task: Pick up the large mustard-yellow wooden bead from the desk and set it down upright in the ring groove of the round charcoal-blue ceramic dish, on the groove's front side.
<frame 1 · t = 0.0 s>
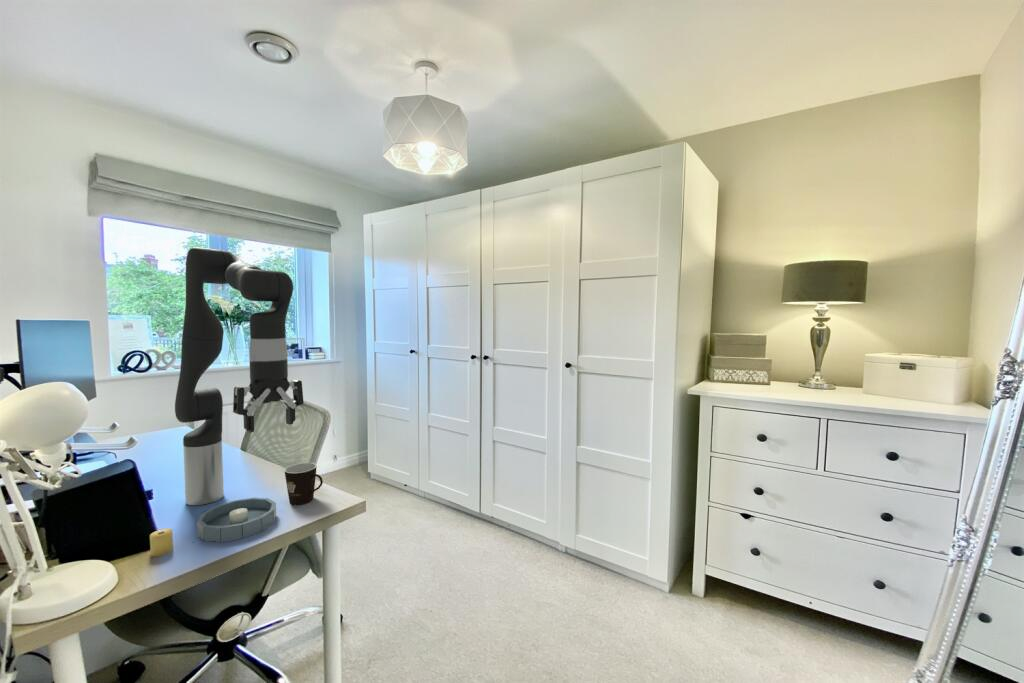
hand: (270, 427, 97), 29 cm above the table, tool pointing down, fingers open, 8 cm apart
coffee mug: (303, 502, 124), on the table
bead: (161, 551, 98), on the table
groove dish: (238, 524, 110), on the table
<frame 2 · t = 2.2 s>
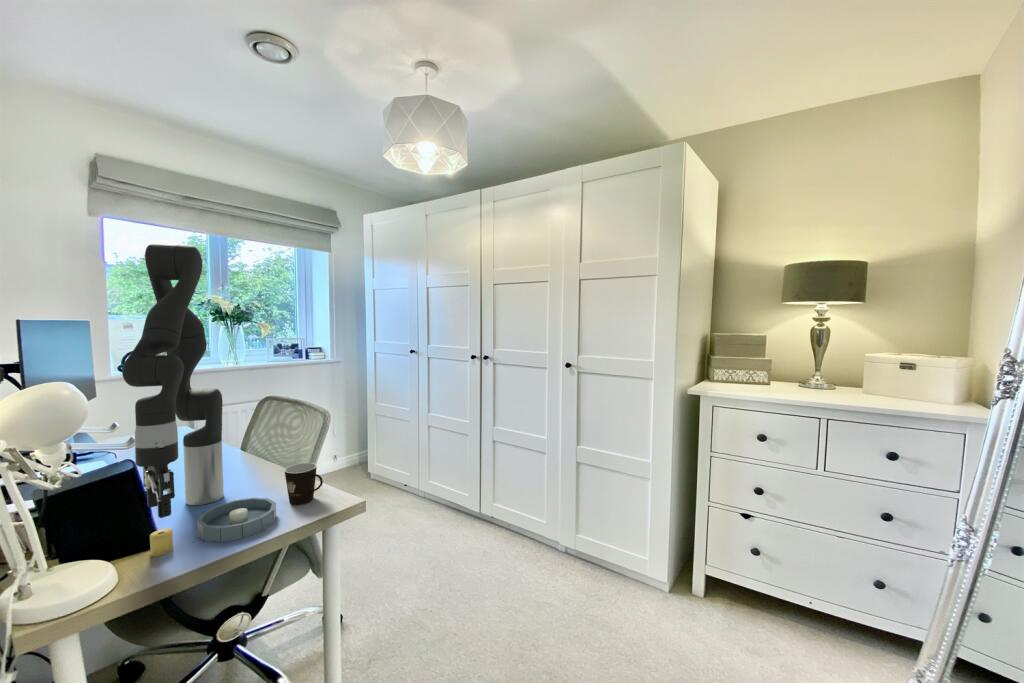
hand: (159, 511, 97), 10 cm above the table, tool pointing down, fingers open, 8 cm apart
nothing on the table moved.
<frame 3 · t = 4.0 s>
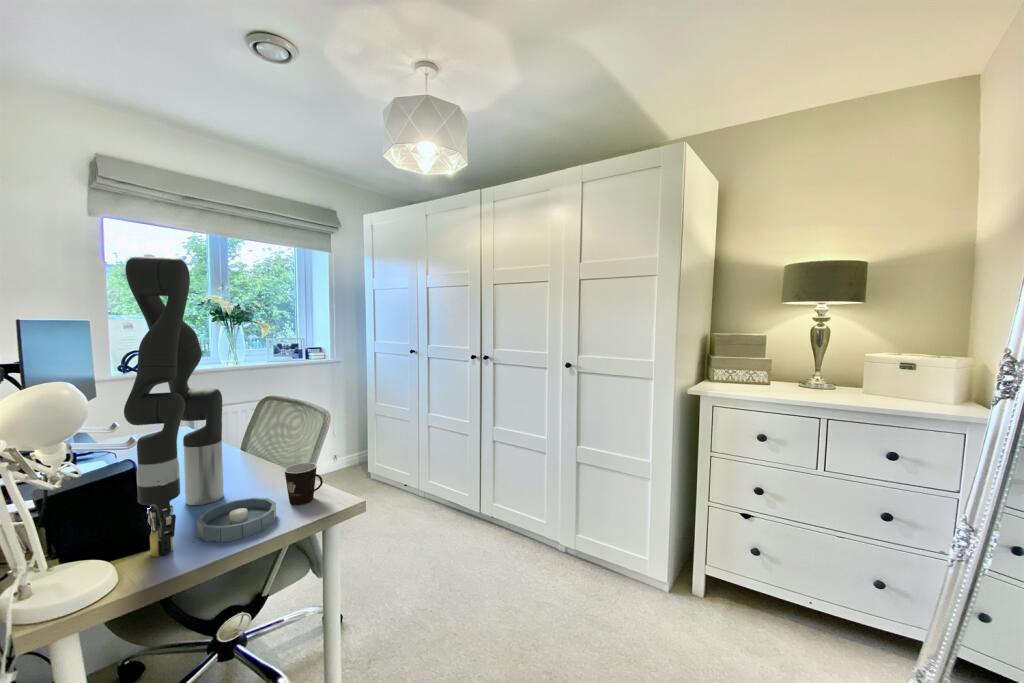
hand: (161, 550, 98), 0 cm above the table, tool pointing down, fingers closed on bead, 4 cm apart
bead: (161, 551, 98), on the table, touching gripper
everything else where it was.
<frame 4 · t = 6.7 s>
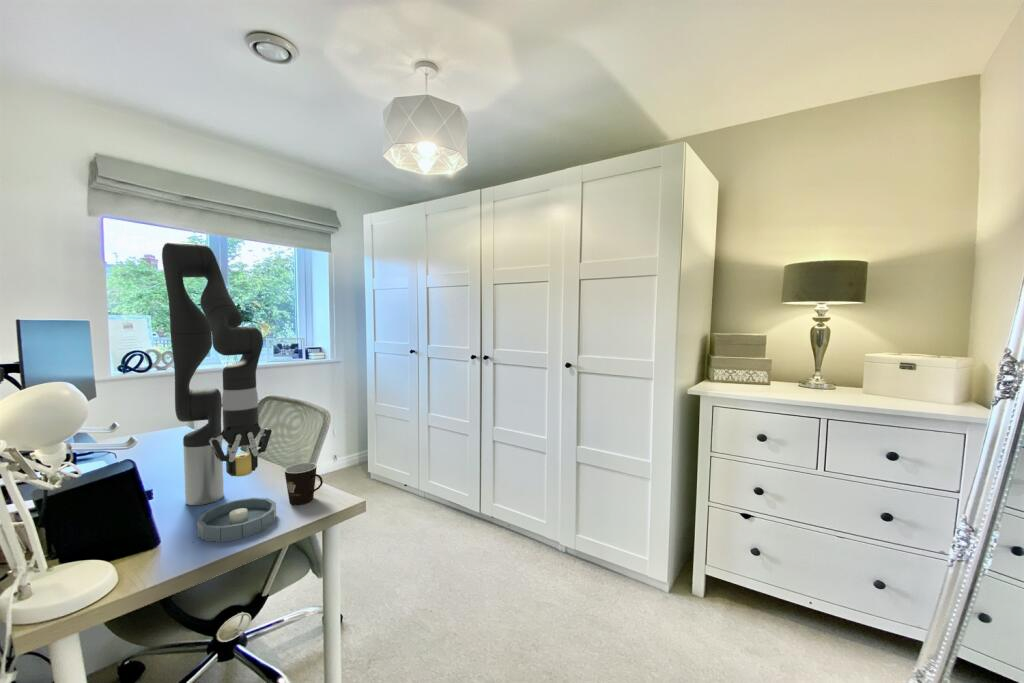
hand: (242, 472, 106), 15 cm above the table, tool pointing down, fingers closed on bead, 4 cm apart
bead: (242, 473, 106), point 15 cm above the table, touching gripper
everything else where it was.
when the fingers open (3 cm above the table, at t = 9.2 s): bead drops 1 cm, resting on groove dish.
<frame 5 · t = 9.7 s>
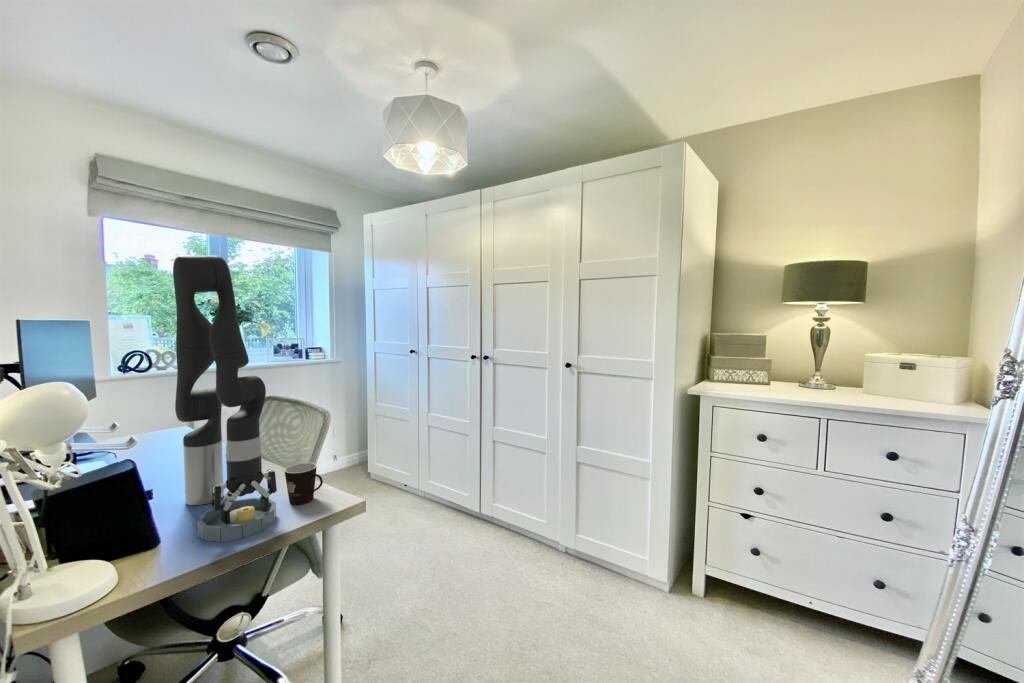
hand: (246, 516, 107), 3 cm above the table, tool pointing down, fingers open, 8 cm apart
bead: (246, 526, 107), point 1 cm above the table, touching groove dish
everything else where it was.
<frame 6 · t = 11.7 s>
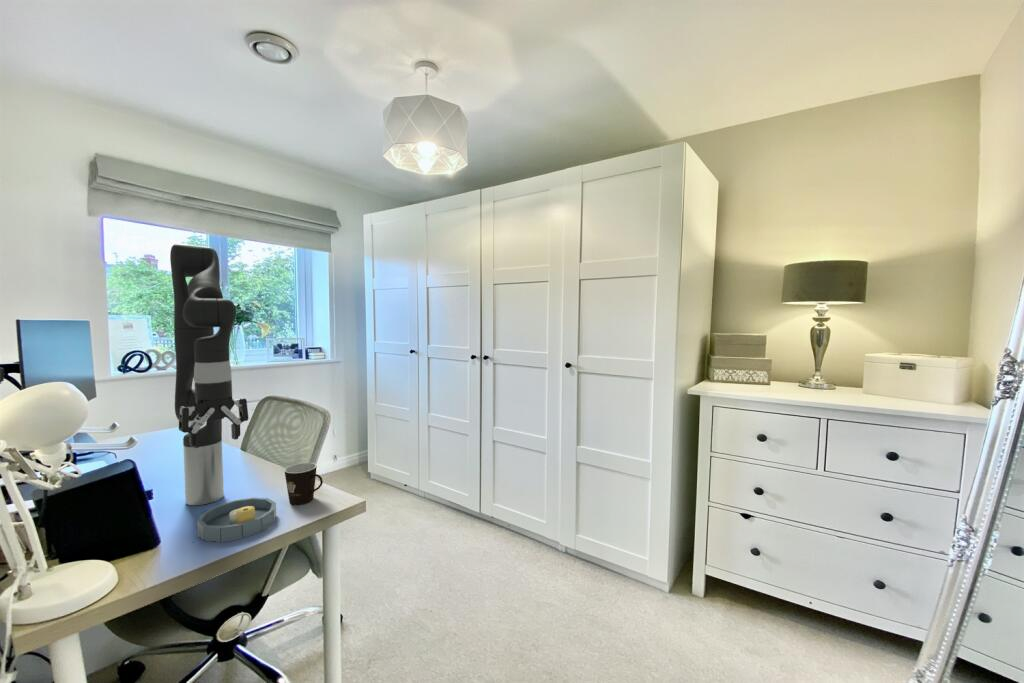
hand: (216, 442, 105), 23 cm above the table, tool pointing down, fingers open, 8 cm apart
nothing on the table moved.
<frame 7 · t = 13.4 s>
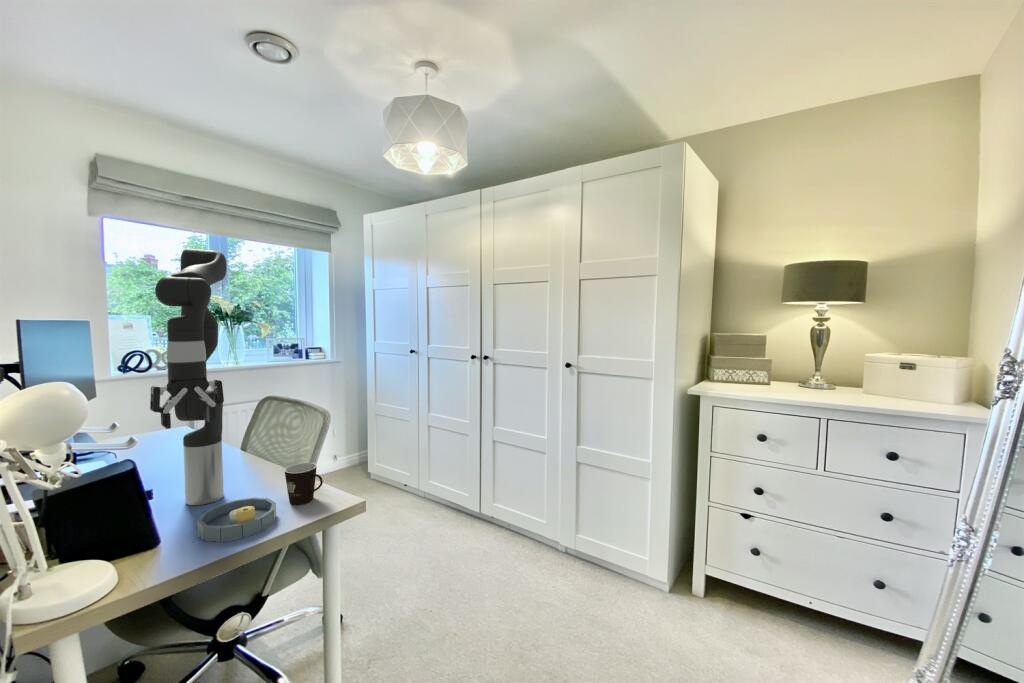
hand: (189, 424, 103), 28 cm above the table, tool pointing down, fingers open, 8 cm apart
nothing on the table moved.
at the end: bead inside the target area on the groove dish (0.1 cm from its centre), point 1.0 cm above the groove dish's base; bead tilted 0°; the gripper is holding nothing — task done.
